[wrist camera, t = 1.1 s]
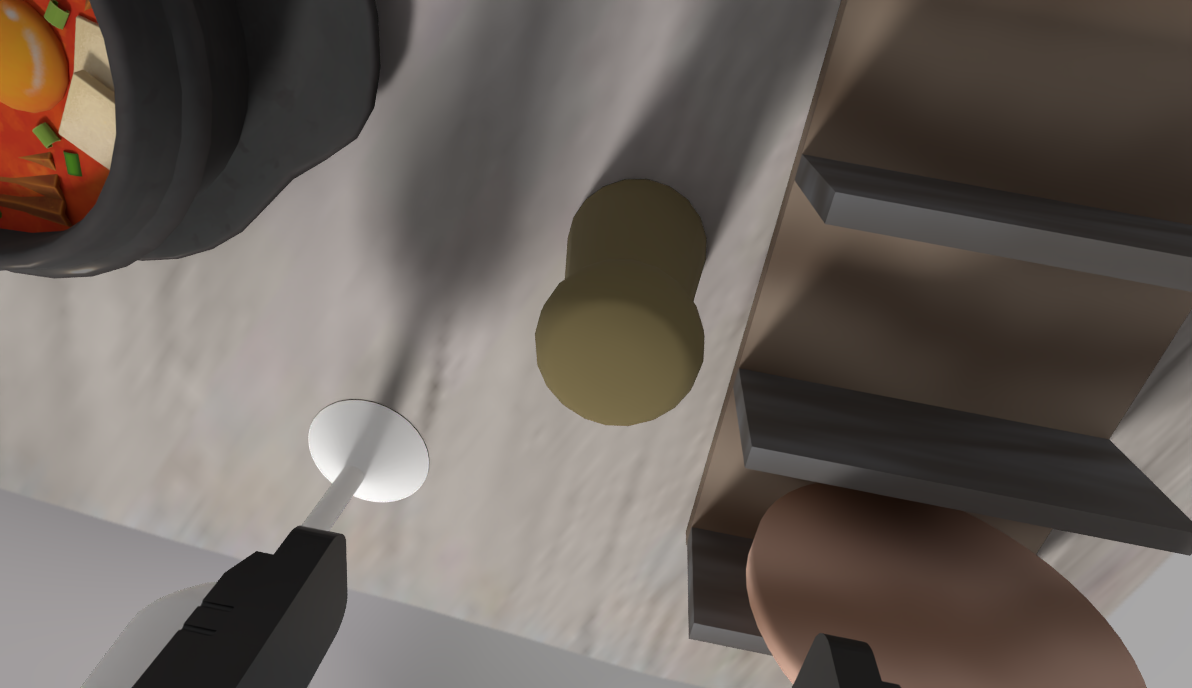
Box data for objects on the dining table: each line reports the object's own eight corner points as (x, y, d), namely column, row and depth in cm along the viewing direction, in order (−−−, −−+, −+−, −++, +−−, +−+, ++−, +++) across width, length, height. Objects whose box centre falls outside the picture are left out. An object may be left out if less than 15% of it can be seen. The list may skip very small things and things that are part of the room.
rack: (886, -153, 21) (1223, -423, 8) (1399, -66, 21) (2647, -205, 8) (685, 531, 35) (690, 846, 22) (993, 592, 35) (1189, 952, 21)
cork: (668, 152, 27) (662, 232, 17) (729, 278, 29) (756, 414, 19) (542, 218, 28) (470, 326, 19) (608, 332, 31) (575, 483, 21)
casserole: (-10, 281, 33) (-210, 359, 26) (-287, -168, 25) (-691, -243, 18) (455, 203, 29) (377, 270, 21) (293, -372, 21) (77, -588, 13)
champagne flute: (287, 456, 36) (-278, 1097, 15) (341, 375, 33) (-259, 1023, 12) (391, 521, 37) (10, 1197, 16) (452, 449, 35) (88, 1151, 13)
